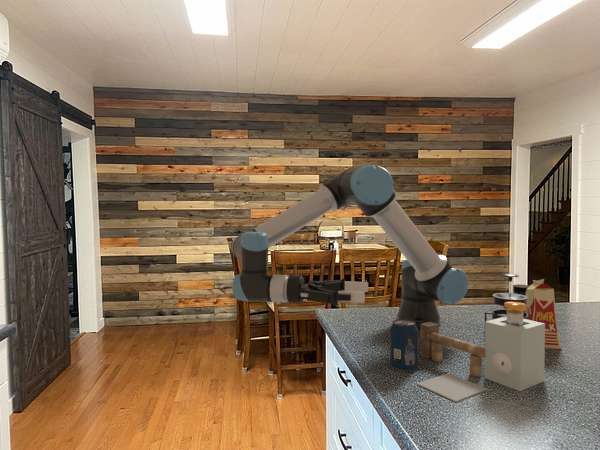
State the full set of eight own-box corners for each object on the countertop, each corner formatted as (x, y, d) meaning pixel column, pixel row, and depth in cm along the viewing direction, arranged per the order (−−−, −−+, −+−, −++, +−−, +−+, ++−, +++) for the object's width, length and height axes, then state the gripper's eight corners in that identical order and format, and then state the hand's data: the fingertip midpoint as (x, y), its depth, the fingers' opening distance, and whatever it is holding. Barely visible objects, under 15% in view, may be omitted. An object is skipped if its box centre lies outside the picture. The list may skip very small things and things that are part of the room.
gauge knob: (499, 332, 105) (499, 303, 104) (511, 329, 107) (511, 300, 107) (518, 337, 101) (519, 307, 100) (530, 334, 103) (530, 304, 103)
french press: (531, 353, 122) (532, 273, 121) (530, 364, 114) (531, 278, 113) (486, 347, 128) (487, 270, 127) (482, 357, 120) (483, 275, 119)
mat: (417, 384, 102) (417, 383, 102) (447, 374, 108) (447, 373, 108) (456, 402, 93) (456, 401, 93) (487, 390, 99) (487, 388, 99)
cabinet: (479, 380, 105) (479, 322, 104) (508, 369, 111) (509, 315, 110) (514, 393, 97) (515, 332, 96) (544, 381, 103) (545, 323, 103)
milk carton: (561, 348, 126) (562, 280, 125) (527, 347, 128) (528, 279, 127) (550, 339, 135) (551, 275, 134) (518, 337, 137) (519, 274, 136)
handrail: (419, 355, 122) (420, 324, 121) (430, 352, 124) (430, 321, 123) (481, 379, 105) (481, 342, 105) (492, 375, 107) (492, 339, 107)
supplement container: (510, 313, 166) (511, 286, 166) (514, 309, 172) (514, 283, 171) (530, 316, 162) (530, 288, 162) (533, 312, 167) (533, 285, 167)
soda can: (400, 360, 118) (400, 317, 118) (422, 366, 113) (423, 321, 113) (385, 367, 113) (385, 322, 113) (408, 374, 108) (408, 327, 108)
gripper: (298, 293, 131) (369, 296, 127) (276, 313, 107) (362, 318, 102) (298, 268, 131) (369, 270, 126) (276, 283, 107) (362, 286, 102)
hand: (366, 291), depth 114 cm, fingers open, 13 cm apart
